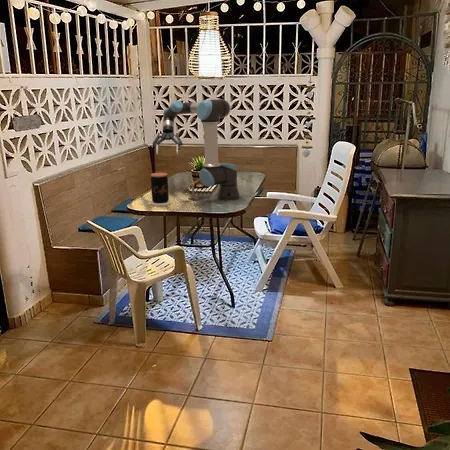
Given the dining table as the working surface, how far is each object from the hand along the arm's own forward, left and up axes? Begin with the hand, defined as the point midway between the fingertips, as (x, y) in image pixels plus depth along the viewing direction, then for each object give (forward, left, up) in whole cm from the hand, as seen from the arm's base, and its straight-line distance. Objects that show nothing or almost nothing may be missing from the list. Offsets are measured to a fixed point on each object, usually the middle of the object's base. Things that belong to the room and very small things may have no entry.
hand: (167, 153), depth 320 cm
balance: (-19, -6, -30) cm, 36 cm away
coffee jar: (-12, +16, -28) cm, 35 cm away
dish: (-12, +16, -30) cm, 36 cm away
